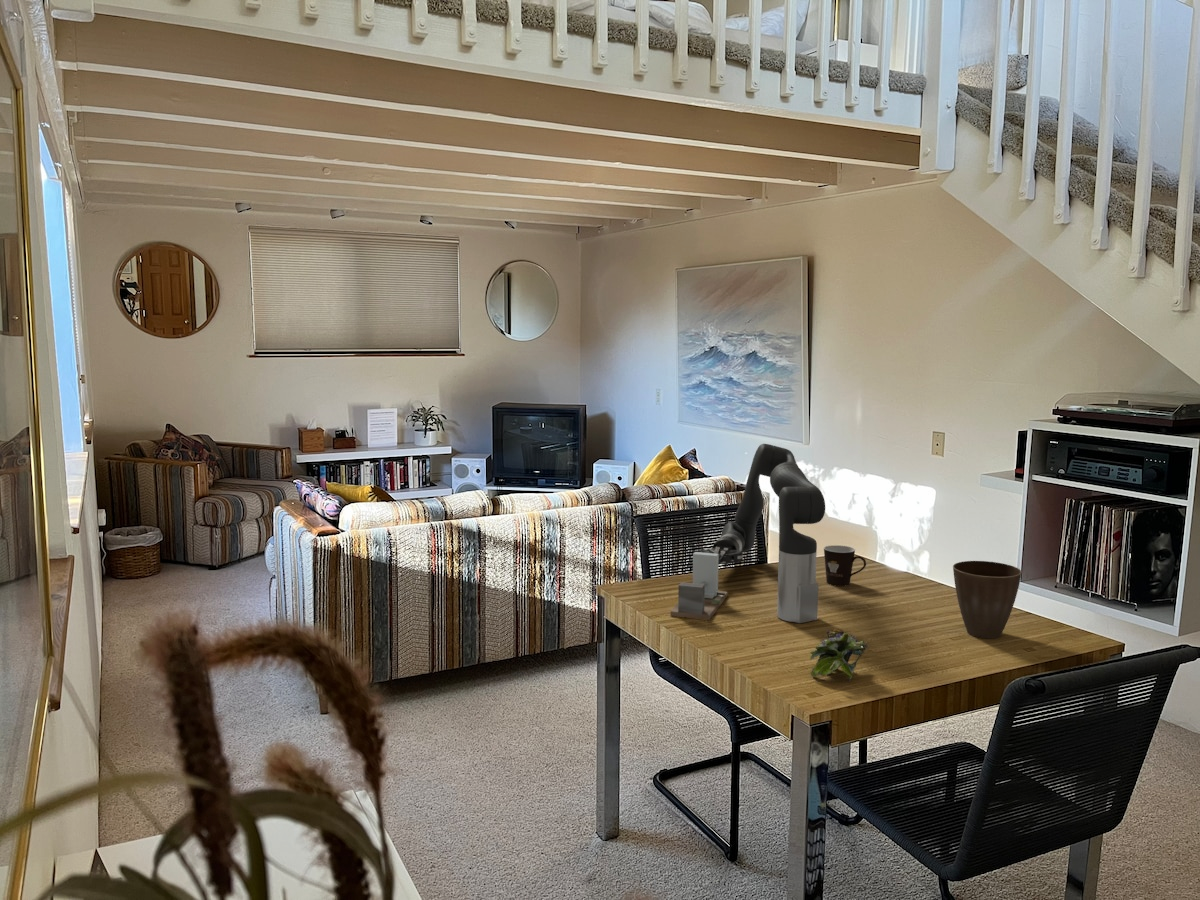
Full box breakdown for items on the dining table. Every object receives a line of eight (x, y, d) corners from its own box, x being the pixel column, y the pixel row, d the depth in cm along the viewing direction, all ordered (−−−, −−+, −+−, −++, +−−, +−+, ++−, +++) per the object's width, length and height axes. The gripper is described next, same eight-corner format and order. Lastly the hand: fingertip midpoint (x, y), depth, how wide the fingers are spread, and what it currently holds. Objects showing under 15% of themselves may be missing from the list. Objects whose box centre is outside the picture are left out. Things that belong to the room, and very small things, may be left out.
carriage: (694, 591, 247) (695, 551, 246) (725, 594, 244) (726, 554, 243) (687, 599, 240) (688, 558, 238) (719, 602, 237) (720, 561, 235)
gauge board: (691, 592, 251) (691, 563, 250) (727, 596, 248) (727, 566, 247) (670, 616, 231) (670, 584, 230) (709, 620, 227) (709, 588, 226)
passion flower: (832, 693, 196) (856, 643, 198) (862, 703, 186) (887, 650, 188) (792, 667, 193) (817, 617, 196) (820, 676, 183) (846, 623, 186)
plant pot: (977, 647, 209) (980, 578, 206) (936, 626, 223) (939, 562, 221) (1031, 641, 212) (1036, 574, 210) (988, 621, 227) (992, 558, 225)
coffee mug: (816, 580, 263) (817, 547, 262) (840, 577, 267) (841, 544, 265) (843, 591, 253) (844, 556, 251) (867, 587, 256) (868, 552, 255)
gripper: (705, 534, 272) (691, 547, 256) (749, 537, 268) (738, 550, 252) (705, 558, 273) (691, 573, 257) (749, 562, 269) (738, 577, 253)
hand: (714, 562), depth 255 cm, fingers closed
